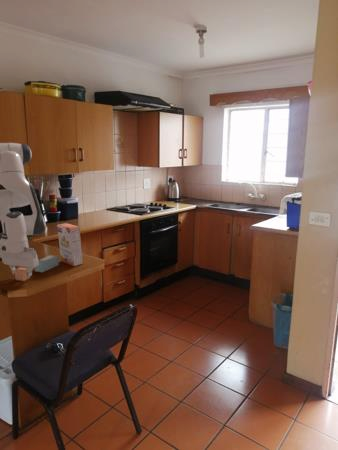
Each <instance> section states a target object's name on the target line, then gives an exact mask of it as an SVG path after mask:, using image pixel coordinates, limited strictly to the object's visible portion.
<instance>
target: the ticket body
mask: <svg viewBox="0 0 338 450" xmlns="http://www.w3.org/2000/svg"><path fill="white" fill-rule="evenodd" d="M38 261H39V265H38V266H37V267H35V268H34V272H38V273H44V272H46V271H48V270H51V269H53V268H56V267H57V266H59V265H60V263H59V255H52V254H51V255H47V256H45V257H43V258H40V259H38Z"/></svg>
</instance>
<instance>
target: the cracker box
mask: <svg viewBox="0 0 338 450" xmlns="http://www.w3.org/2000/svg"><path fill="white" fill-rule="evenodd" d="M56 228H57V229H56V230H57V237H58V238H57V239H58V245H59V252H60V253H59V254H60V261H61V262H62V263H65V264H66V265H69V266H71V267H77V266H81V265H83V264H84V262H83V261H84V259H83V249H82V241H81V239H82V238H81V231H80V229H81V228H80V226H78V225H75V224H71V223H67V222H65V223H60V224H56Z"/></svg>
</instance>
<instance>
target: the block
mask: <svg viewBox="0 0 338 450" xmlns="http://www.w3.org/2000/svg"><path fill="white" fill-rule="evenodd" d="M28 270H29V269H27V267H21V266H19V267H17V268H15V270H14V271H15V274H14V277H15V278H14V279H15V280H16V281H20V282H21V281H22V282H25V281H27V280H29V279H30V278H31V276H27V272H28Z"/></svg>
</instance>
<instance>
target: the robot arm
mask: <svg viewBox="0 0 338 450" xmlns="http://www.w3.org/2000/svg"><path fill="white" fill-rule="evenodd" d="M32 154H33V153H32V149H31V147H30V146H29V145H28V144H26V143H17V142H0V185H1V186H2V187H3V188H5V189H0V223H1V227H2V232H1V233H0V236H1V238H0V259H1V260H2V261H1V262H2V263H3V264H4V265H8V266H9V268H10V270H11V272H12V274H13V275H15V271H14V270H15V269H16V267H25V268H27V269H29V270H28V272H27V276H30V277H31V276H32V275H33V270H34V269H35V267H37V266H38V265H39V261H38V260H39V258H38V254H37V251H36V250H35V249H34V248H32V247H29V246H30V245H29V240H28V236H39V235H40V236H41V235H42V234H44V232H45V231H46V228H47V223H46V220H45V217H44V216H43V213H42V211H41V207H40V202H39V200H38V196H37V193H36V191H35V187H34V185H33V184H32V182H29V181H28V180H27V179H26V176H25V168H24V165H25V164H26V165H27V164H29V163H30V162H31V160H32V158H33V157H32V156H33V155H32ZM28 205H30V207H31V211H32V214H30V215H24V214H23V213H22V212H21V211H11V210H10V209H13V208H22V207H25V206H26V207H27V206H28Z"/></svg>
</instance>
